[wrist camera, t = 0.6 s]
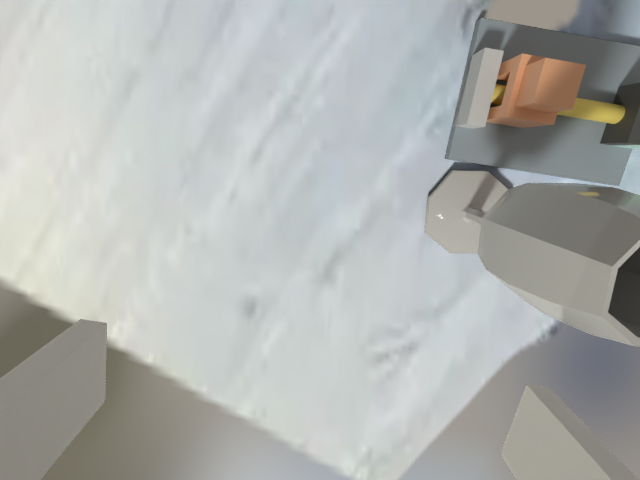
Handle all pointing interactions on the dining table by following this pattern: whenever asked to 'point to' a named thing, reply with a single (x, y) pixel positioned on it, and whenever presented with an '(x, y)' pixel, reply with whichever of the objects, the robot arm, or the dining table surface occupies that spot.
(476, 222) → the wineglass
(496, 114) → the sleeve
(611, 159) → the linear slide rail
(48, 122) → the dining table surface
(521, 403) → the robot arm
